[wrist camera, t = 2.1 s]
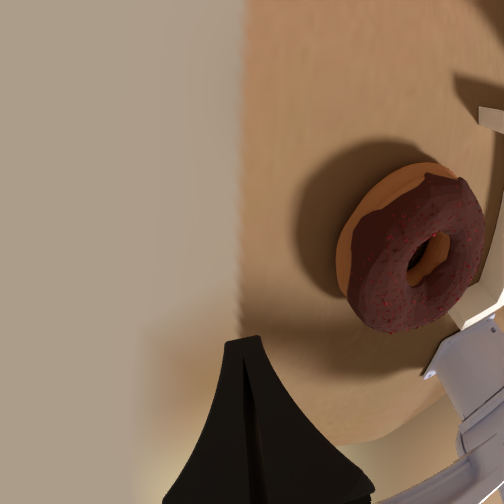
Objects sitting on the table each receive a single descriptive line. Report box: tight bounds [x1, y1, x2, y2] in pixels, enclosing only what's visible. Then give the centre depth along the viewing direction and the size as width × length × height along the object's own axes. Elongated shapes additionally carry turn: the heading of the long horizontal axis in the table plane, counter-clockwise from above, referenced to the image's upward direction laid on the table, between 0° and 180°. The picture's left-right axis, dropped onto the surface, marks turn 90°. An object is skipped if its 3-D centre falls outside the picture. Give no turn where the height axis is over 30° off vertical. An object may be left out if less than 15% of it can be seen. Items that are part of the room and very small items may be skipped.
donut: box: [335, 162, 485, 335], centre depth 13 cm, size 10×10×4 cm
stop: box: [447, 106, 504, 331], centre depth 13 cm, size 6×16×3 cm, turn 11°
